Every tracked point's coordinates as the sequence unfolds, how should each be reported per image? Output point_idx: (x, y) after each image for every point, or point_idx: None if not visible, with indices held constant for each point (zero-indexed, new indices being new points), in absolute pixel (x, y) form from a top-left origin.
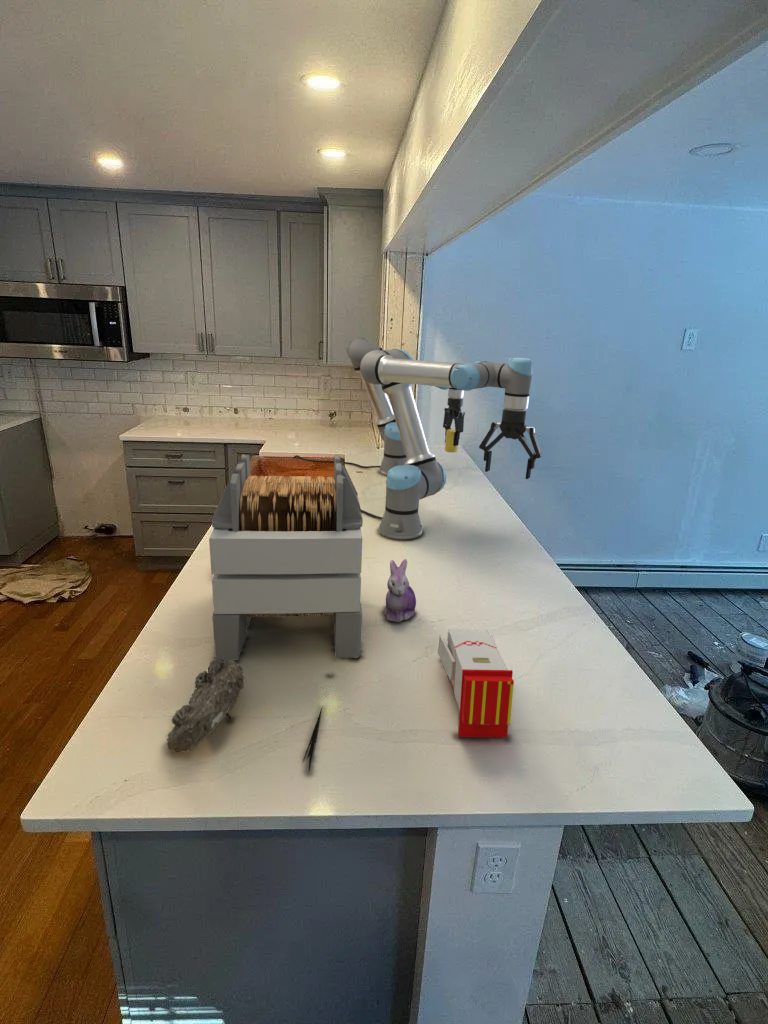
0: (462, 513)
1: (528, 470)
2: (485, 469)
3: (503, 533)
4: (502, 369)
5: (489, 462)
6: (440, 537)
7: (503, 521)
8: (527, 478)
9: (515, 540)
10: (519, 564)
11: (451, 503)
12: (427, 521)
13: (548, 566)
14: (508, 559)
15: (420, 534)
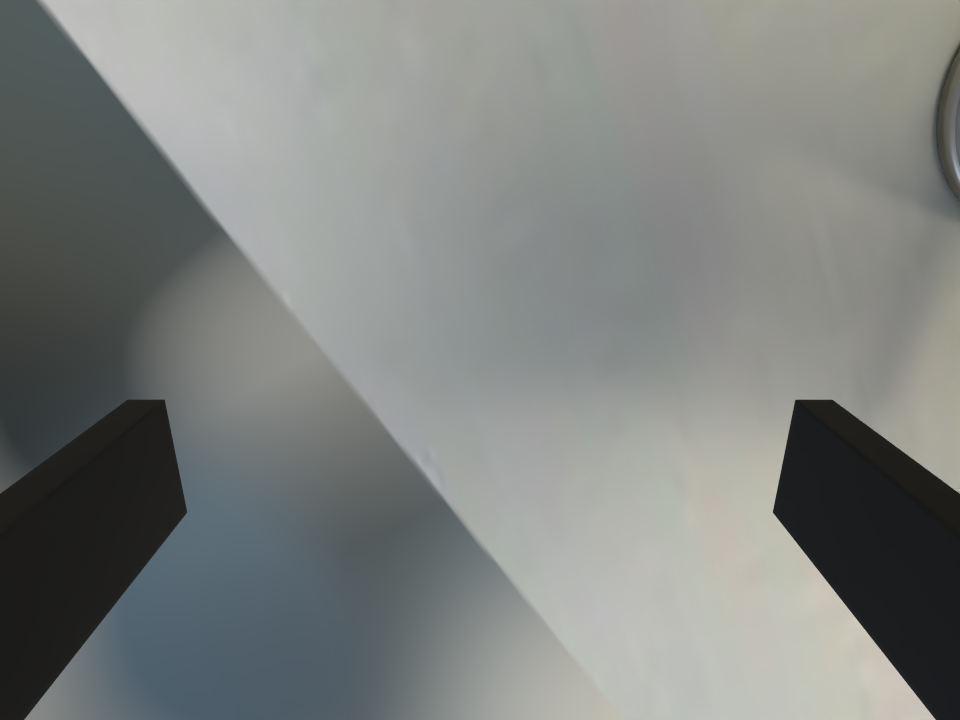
0: (784, 564)
1: (36, 474)
2: (846, 414)
3: (515, 432)
4: None
5: (866, 547)
6: (815, 172)
7: (565, 575)
8: (127, 405)
9: (430, 378)
10: (289, 60)
11: (871, 653)
12: (942, 359)
13: (154, 136)
14: (367, 94)
15: (947, 105)
